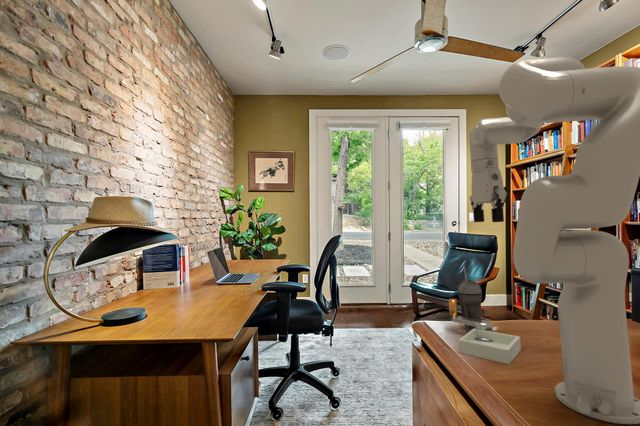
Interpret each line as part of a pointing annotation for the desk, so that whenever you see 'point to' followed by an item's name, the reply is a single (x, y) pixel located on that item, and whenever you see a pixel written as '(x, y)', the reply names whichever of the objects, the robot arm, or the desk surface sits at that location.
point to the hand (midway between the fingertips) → (488, 221)
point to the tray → (490, 345)
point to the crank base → (482, 338)
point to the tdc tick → (494, 328)
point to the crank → (467, 321)
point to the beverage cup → (470, 300)
